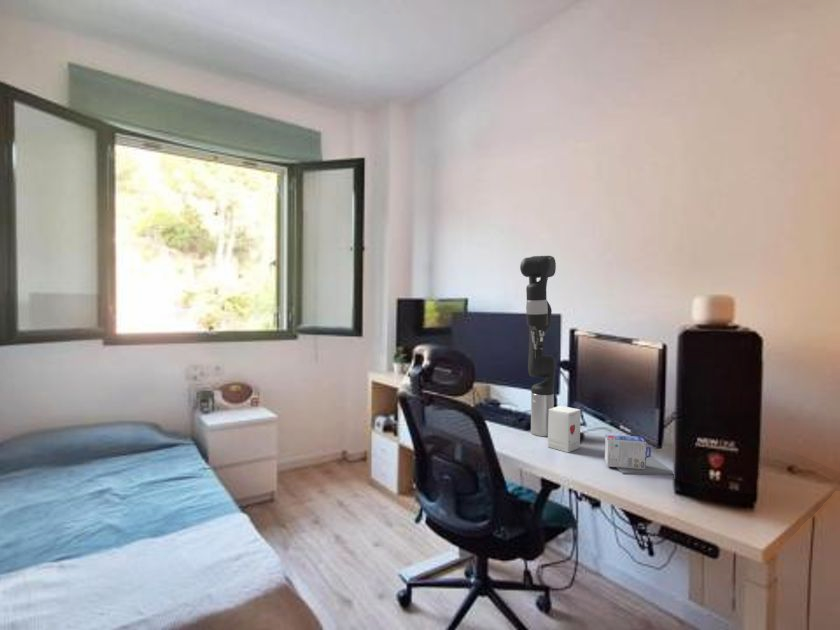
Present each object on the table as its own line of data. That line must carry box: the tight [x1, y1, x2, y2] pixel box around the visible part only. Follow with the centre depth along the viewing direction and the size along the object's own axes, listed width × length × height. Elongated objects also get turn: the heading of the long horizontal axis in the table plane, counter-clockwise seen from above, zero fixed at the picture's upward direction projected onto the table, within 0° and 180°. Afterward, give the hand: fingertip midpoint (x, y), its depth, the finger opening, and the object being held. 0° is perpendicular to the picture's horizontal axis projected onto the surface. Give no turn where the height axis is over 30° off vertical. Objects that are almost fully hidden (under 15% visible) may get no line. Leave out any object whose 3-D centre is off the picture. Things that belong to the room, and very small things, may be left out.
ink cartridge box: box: [604, 434, 652, 470], centre depth 154 cm, size 10×6×14 cm
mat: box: [603, 454, 674, 475], centre depth 157 cm, size 16×17×1 cm
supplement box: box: [547, 405, 582, 453], centre depth 175 cm, size 9×9×15 cm
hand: (538, 359), depth 167 cm, fingers closed
